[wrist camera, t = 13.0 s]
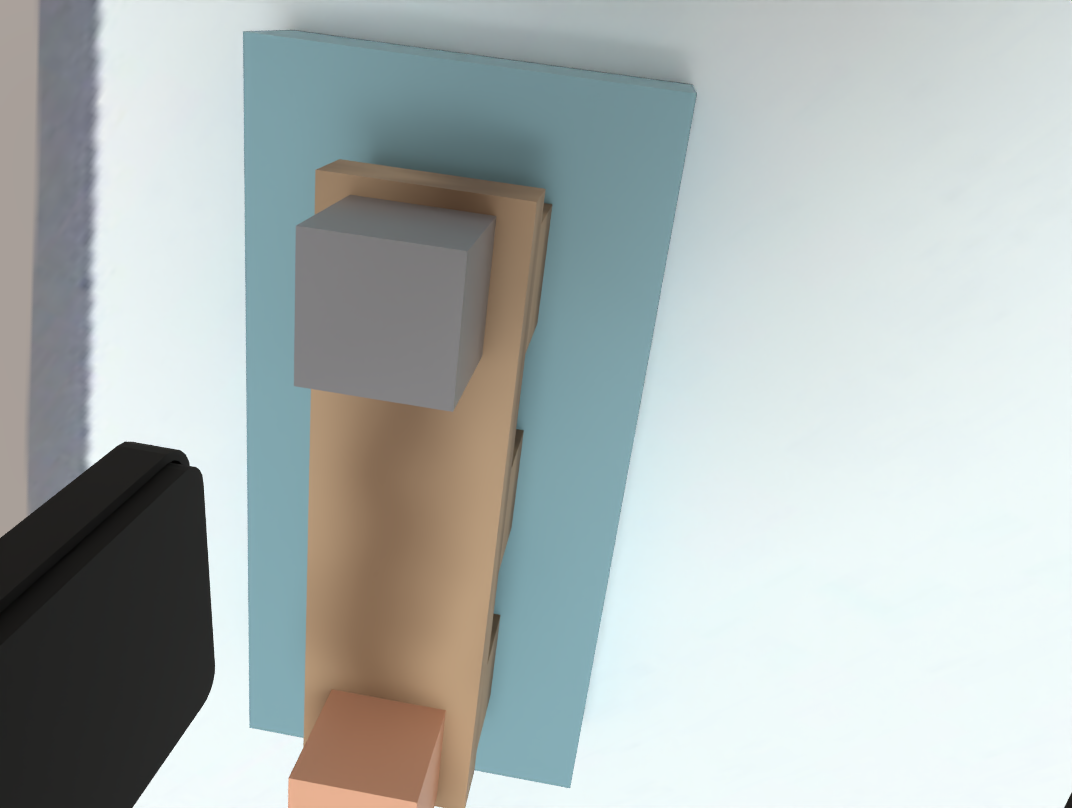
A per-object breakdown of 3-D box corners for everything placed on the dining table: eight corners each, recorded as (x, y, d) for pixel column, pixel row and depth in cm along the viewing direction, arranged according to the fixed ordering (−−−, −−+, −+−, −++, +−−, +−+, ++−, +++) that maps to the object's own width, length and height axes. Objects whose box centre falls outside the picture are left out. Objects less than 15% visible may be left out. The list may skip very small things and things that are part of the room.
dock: (692, 84, 31) (697, 93, 27) (577, 720, 42) (570, 788, 38) (291, 30, 32) (243, 31, 28) (284, 667, 43) (249, 727, 39)
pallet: (556, 172, 28) (536, 201, 24) (488, 714, 37) (464, 811, 33) (369, 145, 29) (315, 169, 24) (345, 688, 38) (302, 780, 33)
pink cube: (445, 710, 31) (417, 803, 27) (437, 796, 33) (408, 894, 29) (331, 689, 31) (288, 778, 28) (328, 775, 33) (287, 870, 29)
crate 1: (496, 216, 24) (467, 251, 20) (482, 356, 26) (453, 411, 22) (350, 194, 24) (295, 225, 21) (344, 334, 26) (293, 386, 22)
